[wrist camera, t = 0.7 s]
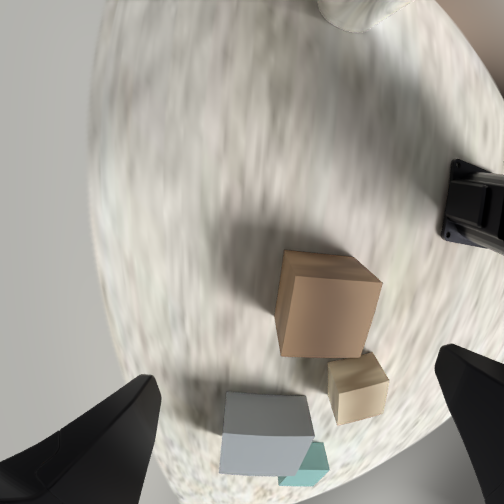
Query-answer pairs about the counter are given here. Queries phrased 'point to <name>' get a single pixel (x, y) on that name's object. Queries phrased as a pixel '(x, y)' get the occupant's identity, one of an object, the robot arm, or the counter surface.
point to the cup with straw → (359, 12)
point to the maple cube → (356, 388)
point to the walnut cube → (324, 305)
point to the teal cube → (309, 468)
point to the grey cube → (265, 434)
